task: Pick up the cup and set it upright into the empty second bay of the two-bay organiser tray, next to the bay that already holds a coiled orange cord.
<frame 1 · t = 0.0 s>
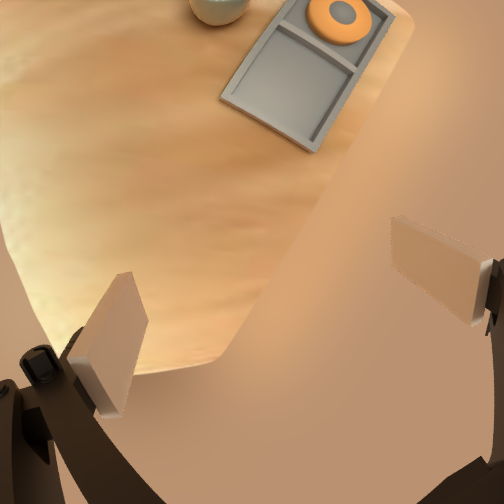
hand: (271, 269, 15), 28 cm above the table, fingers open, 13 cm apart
tray: (313, 50, 36), on the table
cord coil: (334, 19, 34), resting on tray
cup: (218, 10, 33), on the table
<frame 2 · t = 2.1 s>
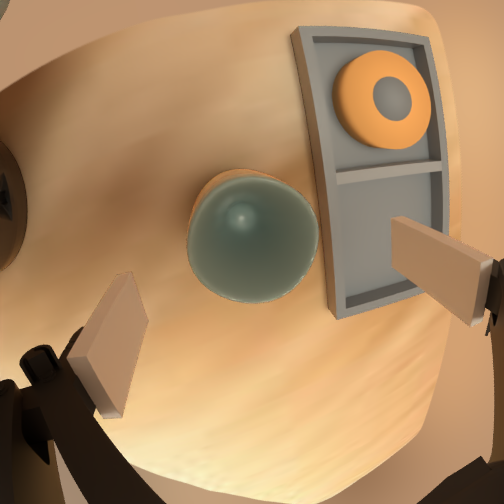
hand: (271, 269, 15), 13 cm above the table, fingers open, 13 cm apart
tray: (381, 168, 28), on the table
cord coil: (375, 101, 25), resting on tray
cup: (237, 209, 27), on the table
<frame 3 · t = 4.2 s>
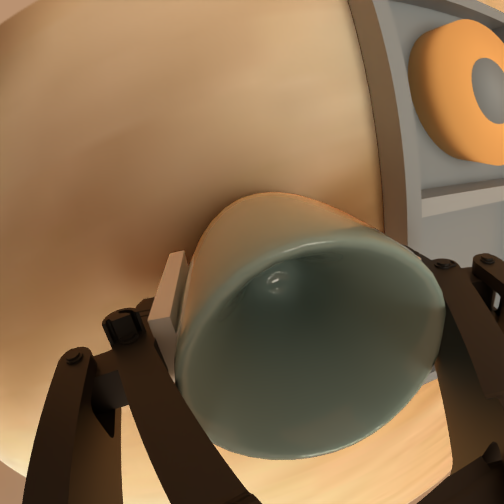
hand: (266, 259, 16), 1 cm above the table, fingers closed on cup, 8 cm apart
tray: (464, 188, 17), on the table
cord coil: (460, 93, 15), resting on tray
cup: (263, 253, 17), on the table, touching gripper
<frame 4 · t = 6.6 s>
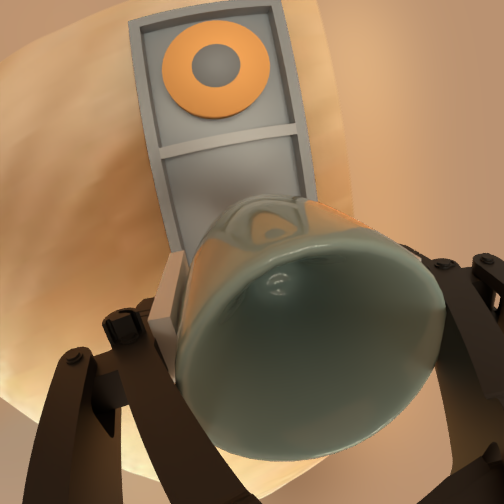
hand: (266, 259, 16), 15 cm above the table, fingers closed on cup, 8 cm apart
tray: (227, 139, 28), on the table
cord coil: (215, 73, 25), resting on tray
cup: (263, 254, 17), point 14 cm above the table, touching gripper
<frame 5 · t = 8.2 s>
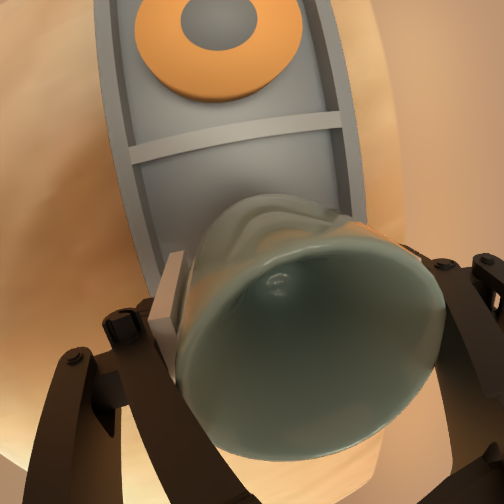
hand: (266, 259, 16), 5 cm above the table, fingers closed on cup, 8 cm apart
tray: (234, 134, 18), on the table
cord coil: (217, 36, 16), resting on tray
cup: (263, 254, 17), point 4 cm above the table, touching gripper
when the fingers open (3 cm above the table, at t = 9.4 s): cup drops 2 cm, resting on tray.
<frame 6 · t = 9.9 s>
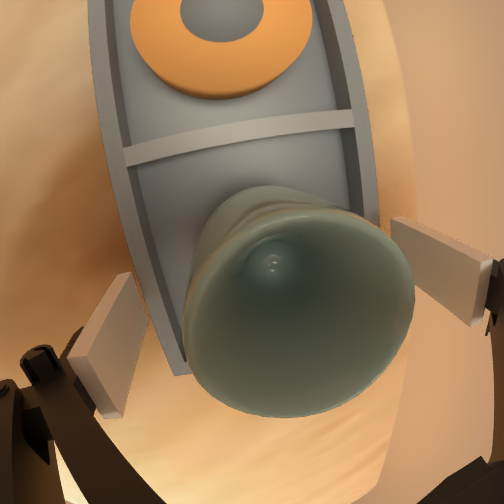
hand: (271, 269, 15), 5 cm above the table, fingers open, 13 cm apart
tray: (238, 133, 17), on the table
cord coil: (219, 29, 14), resting on tray
cup: (260, 242, 19), resting on tray
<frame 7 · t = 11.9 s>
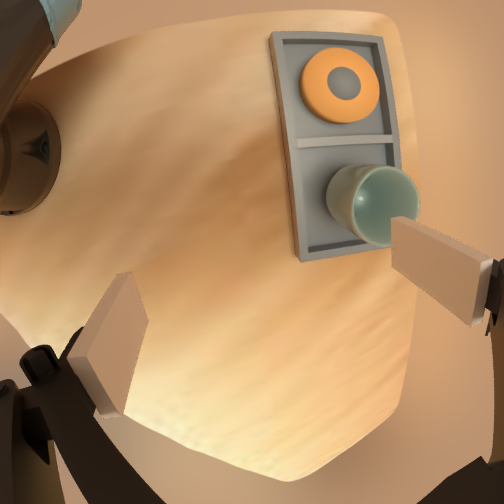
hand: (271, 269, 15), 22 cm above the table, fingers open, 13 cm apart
tray: (340, 140, 35), on the table
cord coil: (334, 88, 32), resting on tray
cup: (347, 193, 37), resting on tray
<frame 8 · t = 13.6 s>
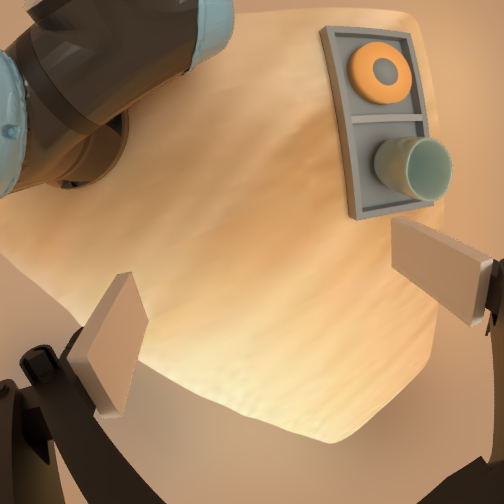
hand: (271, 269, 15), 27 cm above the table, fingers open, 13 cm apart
tray: (380, 118, 39), on the table
cord coil: (374, 75, 36), resting on tray
cup: (388, 162, 41), resting on tray
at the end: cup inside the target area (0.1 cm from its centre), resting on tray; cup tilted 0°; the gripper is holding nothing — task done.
